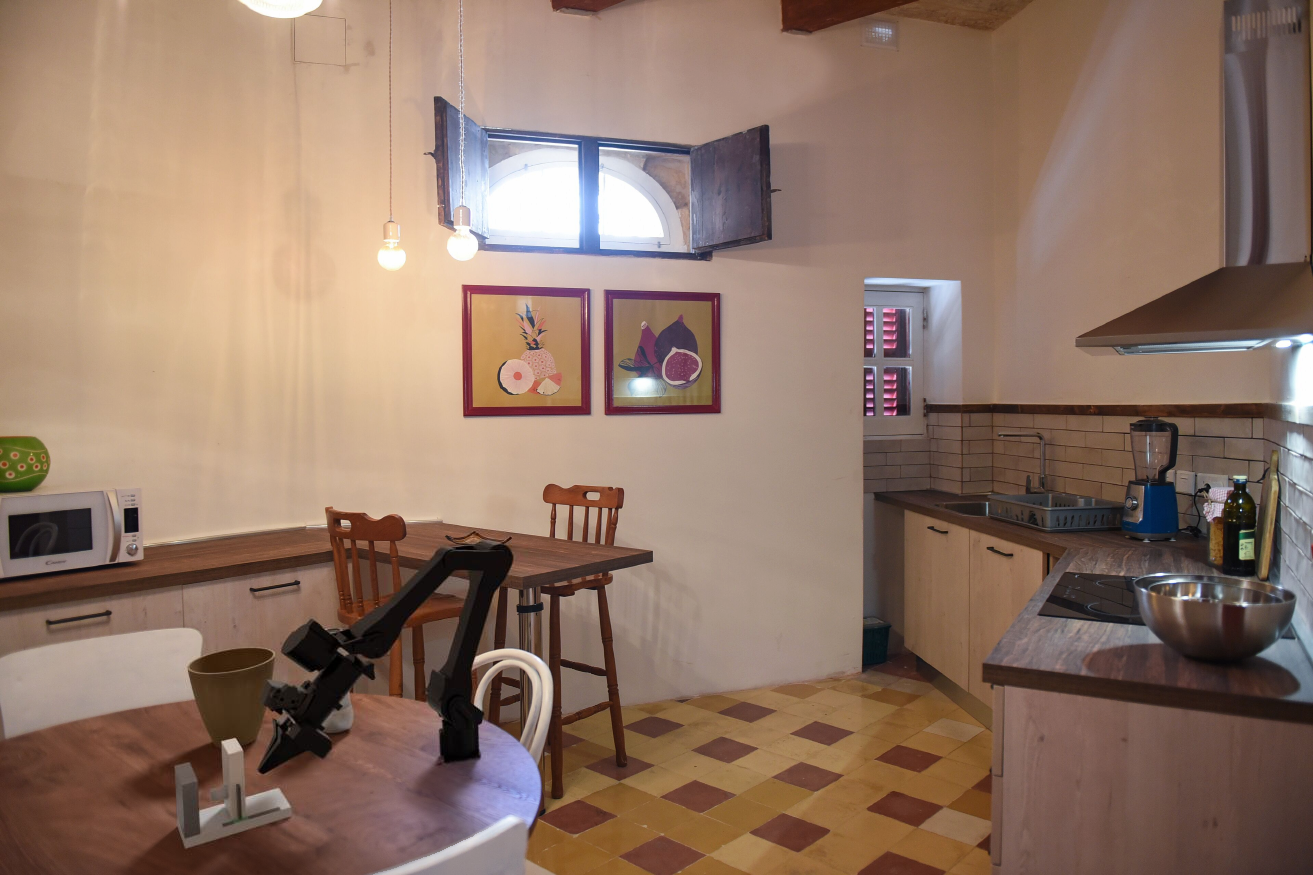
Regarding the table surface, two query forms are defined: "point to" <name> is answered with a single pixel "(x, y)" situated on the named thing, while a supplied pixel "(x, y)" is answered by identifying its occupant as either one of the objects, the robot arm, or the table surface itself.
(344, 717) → the plastic bottle
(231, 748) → the cream upright slab
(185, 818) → the brushed steel plate
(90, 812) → the table surface
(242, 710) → the plant pot
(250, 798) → the base
